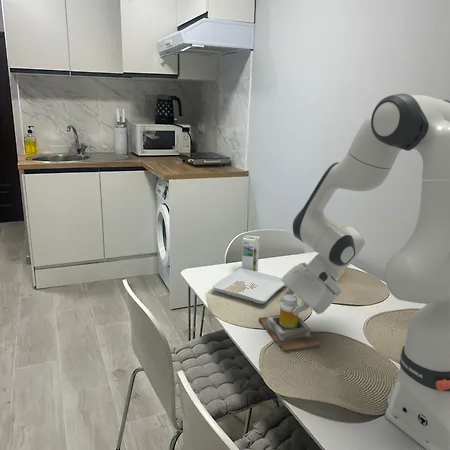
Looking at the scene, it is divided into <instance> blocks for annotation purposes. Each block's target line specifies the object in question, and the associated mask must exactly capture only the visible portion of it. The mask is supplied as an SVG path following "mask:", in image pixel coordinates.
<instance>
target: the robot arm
mask: <svg viewBox="0 0 450 450" xmlns="http://www.w3.org/2000/svg"><path fill="white" fill-rule="evenodd" d="M402 150H404V151H408V152H410V151H412V150H416V151H417V153H419V154H420V156H421V159H422V172H421V173H422V174H421V190H420V204H419V211H418V212H419V213H418V218H417V221H416V225H415V227H414V229H413V231H412V233H411V235H410V237H409V238H408V240H407V242H406V243H405V244H404V245H403V246H402V247H401V248H400V250H398V251H397V252H396V253H394V254H393V255H391V257H390V258H389V259H388V260H387V263H386V266H385V268H384V281H385V285H386V287H387V289H388V291H389V292H390V294H391V295H392V296H393V297H394V298H395V299H397V300H399V301H403V302H409V303H413V304H414V303H415V304H425V305H424V306H422V307H421V308H420V309H418V310H417V311H415V312H414V313H413V314H412V315H411V317H410V318H409V320H408V323H407V324H408V325H407V331H406V338H405V343H404V345H403V346H402V349H401V353H400V356H399V358H400V359H399V371H398V374H397V377H396V379H395V381H394V385H393V388H392V389H391V390H390V393H389V394H388V396H387V401H386V403H387V408H386V411H385V413H384V415H385V418H386V419H387V420H388V421H389V422H391V423H392V424H393V425H395V426H396V427H397V428H398V429H400V430H401V431H402V432H403V433H405V434H406V435H407V436H408V437H410V438H411V439H413V441H415V442H416V443H418V444H419V446H421V447H422V448H424V450H450V100H449V99H448V100H447V99H440V98H436V97H433V96H430V95H426V94H425V95H424V94H423V95H421V94H407V93H398V94H396V93H395V94H392V95H388V96H385V97H384V98H382V99H381V100H380V101H378V103H377V104H376V106H375V107H374V109H373V111H372V113H371V114H369V115H368V116H367V117H366V119H364V122H363V123H362V124H361V125H360V127H359V129H358V130H357V131H356V134H355V136H354V137H353V139H352V142H351V144H350V146H349V148H348V151H347V154H346V155H345V156H344V157H343V159H342V160H341V161H339V162H337V161H336V162H334V163H332V164H331V165H330V166H329V167H328V168H327V169H326V170H325V171H324V173H323V175H322V176H321V178H320V180H319V181H318V183H317V185H315V188H314V189H313V191H312V193H311V194H310V196H309V198H308V200H307V201H306V202H305V205H304V206H303V207H302V208H301V210H300V211H299V212H298V213H297V214H296V216H295V217H294V219H293V221H292V232H293V236H294V237H295V238H296V239H298V240H299V241H300V242H302V243H304V244H306V245H307V246H308V247H309V248H311V249H312V250H313V251H314V252H315V253H317V254H316V255H315V256H314V257H313V258H312V259H311V260H310V261H309V263H306V262H302V263H298V264H297V265H294V266H293V267H292V268H291V269H289V270H288V271H287V272H286V273H285V274H284V275H283V276H282V277H281V278H282V282H283V283H284V284H285V286H287V288H285V291H284V292H283V293H284V294H283V296H282V297H281V298H280V302H281V303H282V302H283V297H284V296H285V295H294V294H295V296H296V297H297V298H300V299H301V300H302V301H301V302H300V304H298V307H295V306H294V307H293V309H291V312H292V313H293V314H294V315H295V316H297V315H298V316H299V314H300V313H302V312H305V311H307V310H308V309H309V308H310V309H311V310H312V311H313V312H314V313H315V314H317V315H320V314H323V313H324V312H325V311H327V309H328V308H329V307H330V306H331V305H332V303H334V301H335V299H336V297H337V296H340V294H342V292H343V291H342V287H341V286H340V285H339V282H338V281H336V279H337V278H338V277H339V275H340V273H341V271H342V270H343V269H344V268H345V269H346V268H347V267H349V266H350V265H351V264H352V263H353V261H354V260H355V259H356V258H357V257H358V255H359V254H360V253H361V251H362V250H363V248H364V247H365V244H366V242H365V238H364V236H363V235H362V234H361V232H359V231H358V230H357V229H356V228H354V227H352V226H344V227H345V228H341V227H340V226H341V225H338V224H337V223H335V222H334V221H333V220H332V219H331V218H329V217H327V216H326V215H325V213H324V209H325V208H326V206H327V205H328V203H329V202H330V200H331V198H332V197H333V195H334V194H335V193H336V191H337V190H339V189H340V190H341V189H342V190H347V191H351V192H352V191H353V192H367V191H372V190H374V189H377V188H379V187H380V186H381V185H382V184H383V183H384V182H385V180H386V179H387V177H388V176H389V174H390V172H391V171H392V167H393V165H394V164H395V161H396V159H397V157H398V155H399V154H400V152H401V151H402Z"/></svg>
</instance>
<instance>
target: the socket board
mask: <svg viewBox="0 0 450 450" xmlns="http://www.w3.org/2000/svg"><path fill="white" fill-rule="evenodd" d="M279 320H280V314H276V315H269V316H263V317H259V318H258V322H259V321H260V322H261V323H262V324H263V326H264V327H265V328H264V327H263V326H262V327H263V328H264V329H265V331H266V330H267V331H266V332H267V333H268V335H269V336H270V337H271V338H272V339H273V340H274V342H275V341H276V342H277V343H278V344H279V345H280V347H281V348H282V349H283V350H282V349H281V348H280V347H279V348H280V349H281V350H282V352H283V351H284V352H288V353H290V352H289V351H293V352H296V351H295V350H298V351H300V350H299V349H303V350H307V349H306V348H309V349H311V348H310V347H314V348H317V347H316V346H319V347H320V342H319V341H318V340H317V339H316V338H315V337H314V336H313V335H312V334H311V328H310V326H308V325H307V324H306V322H304V320H302V318H300V317H299V316H298V324H297V328H295V329H289V330H283V329H281V328H280V326H279ZM260 322H259V323H260ZM261 323H260V324H261ZM262 324H261V325H262ZM276 342H275V343H276ZM277 343H276V344H277ZM278 344H277V345H278ZM279 345H278V346H279ZM284 352H283V353H284Z"/></svg>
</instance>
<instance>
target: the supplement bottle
mask: <svg viewBox="0 0 450 450" xmlns="http://www.w3.org/2000/svg"><path fill="white" fill-rule="evenodd" d="M283 296H284V295H283ZM283 296H282V297H283ZM294 306H295V307H298V306H299V304H298V296H297V295H294V294H293V295H285V296H284V297H283V302H281V303H280V307H279V309H280V310H279V315H280V320H279V326H280V328H281V329H283V330H289V329H295V328H297V324H298V317H299V314H298V315H297V316H295V315H294V314H293V313H292V312H291V309H293V307H294Z"/></svg>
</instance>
